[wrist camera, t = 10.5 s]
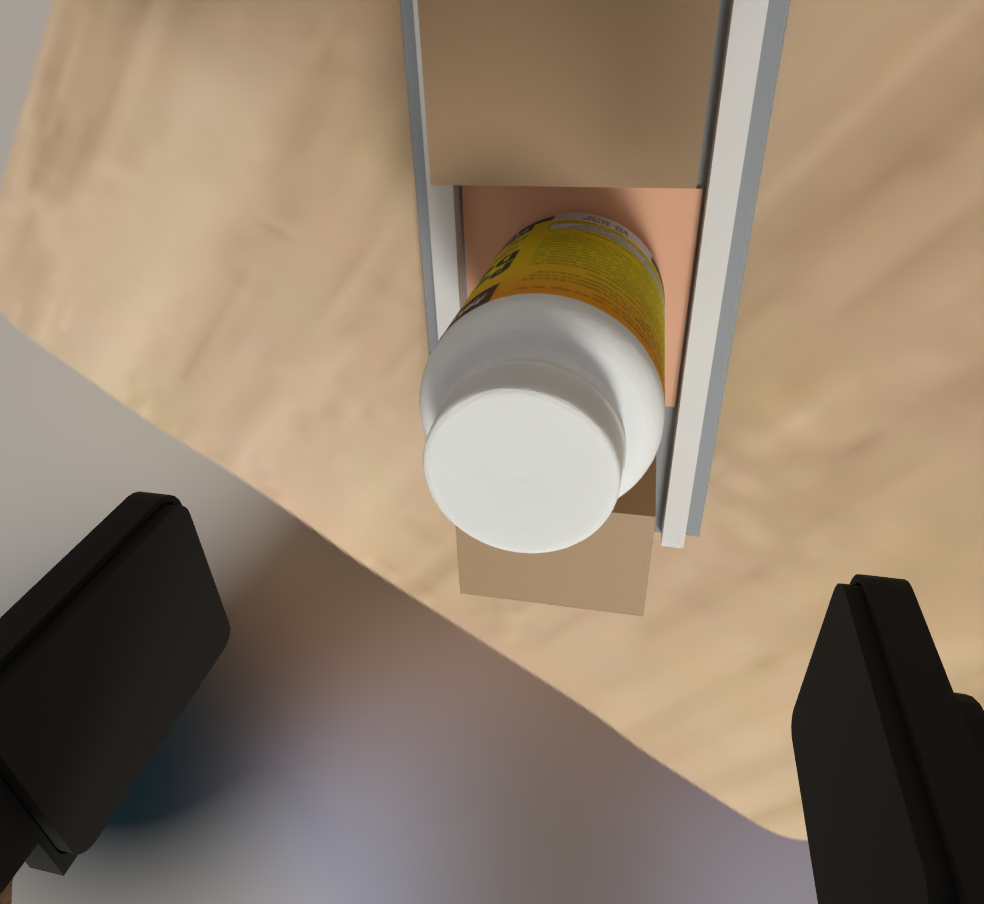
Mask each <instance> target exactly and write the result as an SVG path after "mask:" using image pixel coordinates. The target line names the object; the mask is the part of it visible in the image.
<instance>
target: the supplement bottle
mask: <svg viewBox="0 0 984 904" xmlns="http://www.w3.org/2000/svg"><path fill="white" fill-rule="evenodd" d="M420 413H421V420H422V424H423V428H424V432H425V435H426V438H427V439H426V442H425V447H424V454H423V467H424V474H425V478H426V482H427V485H428V488H429V490H430V493H431V495H432V497H433V498H434V500H435V502H436V504H437V505H438V506H439V508H440V509H441V511H442V512H443V513H444V514H445V515H446V516H447V518H448V519H449V520H451V521H452V522H453V523H454V524H455V525H456V526H457V527H459V528H460V529H461V530H462V531H464V532H465V533H467V534H468V535H470V536H471V537H473V538H475V539H477V540H479V541H481V542H483V543H485V544H488V545H490V546H493V547H496V548H499V549H503V550H507V551H512V552H520V553H544V552H552V551H557V550H560V549H564V548H568V547H570V546H572V545H574V544H576V543H578V542H580V541H582V540H584V539H586V538H587V537H589V536H591V535H592V534H593V533H594V532H595V531H596V530H598V529H599V528H600V527H601V526H602V524H603V523H604V522H605V521H606V520H607V518H608V517H609V515H610V514H611V512H612V511H613V509H614V506H615V504H616V502H617V499H618V498H619V497H621V496H622V495H623V494H625V493H626V492H627V491H628V490H630V489H631V488H632V487H633V486H634V485H635V484H636V483H637V482H638V481H639V480H640V479H641V477H642V476H643V475H644V473H645V472H646V471H647V469H648V468H649V466H650V465H651V463H652V461H653V459H654V457H655V455H656V453H657V450H658V447H659V444H660V442H661V438H662V433H663V427H664V419H665V294H664V286H663V281H662V277H661V274H660V270H659V268H658V265H657V263H656V261H655V259H654V257H653V256H652V254H651V253H650V251H649V250H648V248H647V247H646V246H645V245H644V243H643V242H642V241H641V240H640V239H639V238H638V237H637V236H636V235H635V234H633V233H632V232H631V231H630V230H628V229H627V228H625V227H624V226H622V225H621V224H619V223H617V222H615V221H613V220H610V219H608V218H605V217H602V216H599V215H595V214H589V213H578V212H572V213H561V214H555V215H551V216H548V217H545V218H542V219H539V220H537V221H535V222H533V223H531V224H529V225H528V226H526V227H524V228H523V229H522V230H520V231H519V232H518V233H516V234H515V235H514V236H513V237H512V238H511V239H510V240H509V241H508V242H507V243H506V244H505V246H504V247H503V248H502V249H501V251H500V252H499V253H498V255H497V256H496V257H495V259H494V260H493V262H492V263H491V265H490V266H489V268H488V269H487V271H486V272H485V274H484V275H483V276H482V278H481V279H480V281H479V282H478V284H477V285H476V287H475V288H474V290H473V291H472V293H471V294H470V296H469V297H468V299H467V300H466V302H465V303H464V305H463V306H462V308H461V309H460V310H459V312H458V313H457V315H456V316H455V318H454V319H453V321H452V322H451V324H450V325H449V326H448V328H447V330H446V331H445V332H444V334H443V335H442V336H441V338H440V339H439V341H438V343H437V345H436V346H435V348H434V350H433V352H432V353H431V356H430V358H429V360H428V362H427V364H426V367H425V370H424V373H423V377H422V382H421V388H420Z"/></svg>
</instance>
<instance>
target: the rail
mask: <svg viewBox="0 0 984 904" xmlns="http://www.w3.org/2000/svg"><path fill="white" fill-rule="evenodd" d="M400 5H401V17H402V29H403V41H404V53H405V65H406V77H407V89H408V101H409V113H410V125H411V137H412V148H413V160H414V172H415V184H416V196H417V208H418V220H419V232H420V244H421V256H422V268H423V280H424V292H425V304H426V316H427V327H428V339H429V351H430V356H431V353H432V352H433V350H434V348H435V346H436V345H437V343H438V341H439V339H440V338H441V336H442V335H443V334H444V332H445V331H446V330H447V328H448V326H449V325H450V324H451V322H452V321H453V319H454V318H455V316H456V315H457V313H458V312H459V310H460V309H461V308H462V306H463V305H464V303H465V302H466V300H467V299H468V297H469V296H470V294H471V293H472V291H473V290H474V288H475V287H476V285H477V284H478V282H479V281H480V279H481V278H482V276H483V275H484V274H485V272H486V271H487V269H488V268H489V266H490V265H491V263H492V262H493V260H494V259H495V257H496V256H497V255H498V253H499V252H500V251H501V249H502V248H503V247H504V246H505V244H506V243H507V242H508V241H509V240H510V239H511V238H512V237H513V236H514V235H515V234H516V233H518V232H519V231H520V230H522V229H523V228H524V227H526V226H528V225H529V224H531V223H533V222H535V221H537V220H539V219H542V218H545V217H548V216H551V215H555V214H561V213H572V212H578V213H589V214H595V215H599V216H602V217H605V218H608V219H610V220H613V221H615V222H617V223H619V224H621V225H622V226H624V227H625V228H627V229H628V230H630V231H631V232H632V233H633V234H635V235H636V236H637V237H638V238H639V239H640V240H641V241H642V242H643V243H644V245H645V246H646V247H647V248H648V250H649V251H650V253H651V254H652V256H653V257H654V259H655V261H656V263H657V265H658V268H659V270H660V274H661V277H662V281H663V286H664V294H665V419H664V427H663V433H662V438H661V442H660V444H659V447H658V450H657V453H656V455H655V457H654V459H653V461H652V463H651V465H650V466H649V468H648V469H647V471H646V472H645V473H644V475H643V476H642V477H641V479H640V480H639V481H638V482H637V483H636V484H635V485H634V486H633V487H632V488H631V489H630V490H628V491H627V492H626V493H625V494H623V495H622V496H621V497H619V498H618V499H617V502H616V504H615V506H614V509H613V511H612V512H611V514H610V515H609V517H608V518H607V520H606V521H605V522H604V523H603V524H602V526H601V527H600V528H599V529H598V530H596V531H595V532H594V533H593V534H592V535H591V536H589V537H587V538H586V539H584V540H582V541H580V542H578V543H576V544H574V545H572V546H570V547H568V548H564V549H560V550H557V551H552V552H544V553H520V552H512V551H507V550H503V549H499V548H496V547H493V546H490V545H488V544H485V543H483V542H481V541H479V540H477V539H475V538H473V537H471V536H470V535H468V534H467V533H465V532H464V531H462V530H461V529H460V528H459V527H457V526H456V525H455V526H456V540H457V553H458V567H459V581H460V593H463V594H471V595H479V596H486V597H494V598H502V599H510V600H518V601H526V602H534V603H541V604H549V605H557V606H565V607H573V608H581V609H589V610H597V611H604V612H612V613H620V614H628V615H636V616H643V614H644V606H645V598H646V590H647V582H648V574H649V566H650V558H651V550H652V542H653V534H654V532H661V546H667V547H676V548H683V547H684V541H685V535H691V536H699V535H700V529H701V523H702V517H703V511H704V505H705V499H706V493H707V488H708V482H709V476H710V470H711V464H712V458H713V452H714V446H715V441H716V435H717V429H718V423H719V417H720V411H721V405H722V399H723V394H724V388H725V382H726V376H727V370H728V364H729V358H730V352H731V347H732V341H733V335H734V329H735V323H736V317H737V311H738V305H739V300H740V294H741V288H742V282H743V276H744V270H745V264H746V258H747V253H748V247H749V241H750V235H751V229H752V223H753V217H754V211H755V206H756V200H757V194H758V188H759V182H760V176H761V170H762V164H763V159H764V153H765V147H766V141H767V135H768V129H769V123H770V118H771V112H772V106H773V100H774V94H775V88H776V82H777V76H778V71H779V65H780V59H781V53H782V47H783V41H784V35H785V29H786V24H787V18H788V12H789V6H790V0H400ZM452 523H453V522H452Z"/></svg>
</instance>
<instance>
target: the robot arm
mask: <svg viewBox="0 0 984 904" xmlns="http://www.w3.org/2000/svg"><path fill="white" fill-rule="evenodd" d="M229 635H230V625H229V621H228V619H227V616H226V613H225V610H224V607H223V605H222V602H221V599H220V596H219V593H218V591H217V588H216V585H215V582H214V579H213V577H212V574H211V571H210V569H209V565H208V563H207V560H206V557H205V554H204V551H203V549H202V546H201V543H200V540H199V537H198V535H197V532H196V529H195V526H194V524H193V521H192V518H191V515H190V513H189V511H188V509H187V508H186V507H184V506H182V504H181V502H180V501H179V499H177V498H176V497H175V496H171V495H165V494H156V493H147V492H135V493H133V494H131V495H130V496H128V497H127V498H126V499H125V500H124V501H123V502H122V503H121V504H120V505H119V506H117V507H116V509H114V510H113V511H112V512H111V513H110V514H109V515H108V516H107V517H106V518H105V519H104V520H103V521H102V522H101V523H100V524H99V525H98V526H96V527H95V528H94V529H93V530H92V531H91V532H90V533H89V534H88V535H87V536H86V537H85V538H84V539H83V540H82V541H81V542H80V543H79V544H78V545H76V546H75V547H74V548H73V549H72V550H71V551H70V552H69V553H68V554H67V555H66V556H65V557H64V558H63V559H62V560H61V561H60V562H59V563H58V564H56V566H54V567H53V568H52V569H51V570H50V571H49V572H48V573H47V574H46V575H45V576H44V577H43V578H42V579H41V580H40V581H39V582H38V583H37V584H36V585H34V586H33V587H32V588H31V589H30V590H29V591H28V592H27V593H26V594H25V595H24V596H23V597H22V598H21V599H20V600H19V601H18V602H17V603H15V604H14V605H13V606H12V607H11V608H10V609H9V610H8V611H7V612H6V613H5V614H4V615H3V616H2V617H1V618H0V904H11V902H12V880H13V877H14V875H15V874H16V872H17V871H18V870H19V868H20V867H21V866H22V865H23V863H24V862H26V863H27V864H28V865H29V867H30V868H34V869H38V870H43V871H47V872H51V873H55V874H59V875H63V876H64V875H65V873H66V872H67V870H68V868H69V867H70V866H71V864H72V863H73V861H74V860H75V858H76V857H77V855H78V854H81V853H84V852H85V851H87V850H88V849H89V848H90V847H91V846H92V845H93V844H94V842H95V841H96V840H97V838H98V837H99V836H100V834H101V833H102V831H103V830H104V828H105V827H106V825H107V824H108V822H109V821H110V819H111V818H112V816H113V815H114V813H115V812H116V810H117V809H118V807H119V806H120V804H121V803H122V801H123V800H124V798H125V797H126V795H127V794H128V792H129V791H130V789H131V788H132V786H133V785H134V783H135V782H136V780H137V779H138V777H139V776H140V774H141V773H142V771H143V769H144V768H145V767H146V765H147V764H148V762H149V761H150V759H151V758H152V756H153V755H154V753H155V752H156V750H157V749H158V747H159V746H160V744H161V743H162V741H163V740H164V738H165V737H166V735H167V734H168V732H169V731H170V729H171V728H172V726H173V725H174V723H175V722H176V720H177V719H178V717H179V716H180V714H181V713H182V711H183V710H184V708H185V707H186V705H187V704H188V702H189V701H190V699H191V698H192V696H193V695H194V693H195V692H196V690H197V689H198V687H199V686H200V684H201V683H202V681H203V680H204V679H205V677H206V675H207V674H208V672H209V671H210V670H211V668H212V666H213V665H214V664H215V662H216V661H217V659H218V657H219V656H220V654H221V653H222V652H223V650H224V648H225V647H226V645H227V642H228V639H229ZM791 730H792V742H793V748H794V754H795V761H796V767H797V773H798V779H799V786H800V792H801V798H802V805H803V811H804V817H805V824H806V830H807V836H808V843H809V849H810V855H811V862H812V868H813V874H814V880H815V887H816V893H817V899H818V904H984V710H983V708H982V707H981V705H980V704H979V703H978V702H977V701H976V700H975V699H974V698H973V697H972V696H969V695H966V694H960V693H954V692H953V690H952V687H951V685H950V682H949V680H948V677H947V675H946V672H945V670H944V667H943V664H942V662H941V659H940V657H939V654H938V652H937V649H936V647H935V644H934V642H933V639H932V637H931V634H930V632H929V629H928V626H927V624H926V621H925V619H924V616H923V614H922V611H921V609H920V606H919V604H918V601H917V599H916V596H915V594H914V591H913V589H912V587H911V585H910V583H909V582H908V581H906V580H905V579H896V578H887V577H878V576H870V575H861V574H857V575H855V576H854V577H853V578H852V580H851V582H850V585H849V584H837V585H836V587H835V589H834V591H833V594H832V597H831V600H830V603H829V606H828V609H827V612H826V615H825V618H824V621H823V624H822V627H821V630H820V633H819V636H818V639H817V642H816V645H815V648H814V651H813V654H812V657H811V660H810V662H809V665H808V668H807V671H806V674H805V677H804V680H803V683H802V686H801V689H800V692H799V695H798V698H797V701H796V704H795V707H794V710H793V714H792V725H791Z"/></svg>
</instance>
